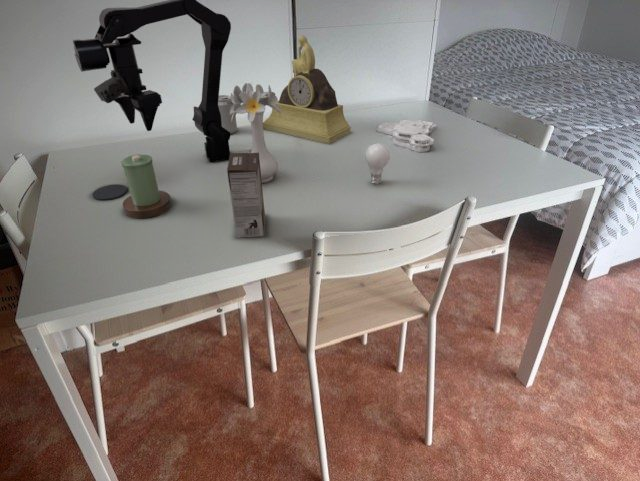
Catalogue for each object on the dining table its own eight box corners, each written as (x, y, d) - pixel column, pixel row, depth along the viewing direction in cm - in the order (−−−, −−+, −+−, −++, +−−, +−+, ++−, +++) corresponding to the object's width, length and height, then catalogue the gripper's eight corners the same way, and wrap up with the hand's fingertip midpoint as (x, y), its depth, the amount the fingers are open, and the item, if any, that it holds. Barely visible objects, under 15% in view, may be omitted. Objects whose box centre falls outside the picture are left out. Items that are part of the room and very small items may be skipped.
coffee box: (238, 217, 105) (229, 152, 97) (265, 216, 106) (259, 151, 97) (235, 238, 98) (225, 169, 89) (264, 236, 98) (258, 168, 89)
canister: (160, 192, 113) (150, 149, 107) (161, 203, 108) (151, 159, 102) (131, 196, 111) (120, 153, 105) (132, 208, 106) (120, 164, 100)
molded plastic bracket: (454, 130, 154) (456, 117, 151) (427, 154, 136) (428, 140, 134) (392, 120, 164) (393, 107, 162) (360, 141, 146) (360, 127, 144)
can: (232, 136, 152) (228, 100, 146) (212, 135, 153) (206, 99, 147) (240, 129, 158) (236, 94, 152) (220, 127, 160) (215, 93, 153)
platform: (169, 194, 116) (168, 187, 115) (173, 213, 108) (171, 206, 106) (124, 201, 113) (122, 194, 112) (124, 222, 104) (122, 214, 103)
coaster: (127, 183, 122) (127, 182, 122) (127, 197, 115) (127, 195, 115) (93, 188, 120) (93, 187, 119) (91, 202, 113) (91, 201, 113)
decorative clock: (262, 128, 158) (255, 35, 142) (285, 118, 167) (280, 30, 151) (329, 144, 145) (329, 43, 128) (350, 132, 154) (352, 37, 137)
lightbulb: (372, 190, 116) (374, 150, 110) (359, 181, 121) (360, 142, 115) (392, 185, 119) (395, 145, 113) (379, 176, 123) (381, 138, 117)
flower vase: (269, 161, 133) (262, 73, 120) (294, 185, 119) (290, 89, 106) (227, 170, 128) (214, 79, 115) (248, 196, 115) (236, 96, 101)
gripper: (77, 66, 112) (95, 127, 121) (111, 77, 101) (128, 143, 110) (119, 58, 119) (134, 117, 127) (156, 68, 108) (169, 131, 116)
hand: (140, 126), depth 120 cm, fingers open, 9 cm apart
